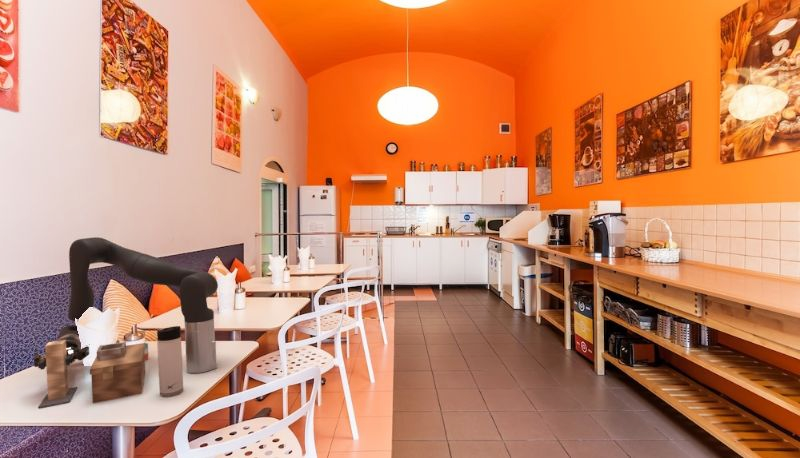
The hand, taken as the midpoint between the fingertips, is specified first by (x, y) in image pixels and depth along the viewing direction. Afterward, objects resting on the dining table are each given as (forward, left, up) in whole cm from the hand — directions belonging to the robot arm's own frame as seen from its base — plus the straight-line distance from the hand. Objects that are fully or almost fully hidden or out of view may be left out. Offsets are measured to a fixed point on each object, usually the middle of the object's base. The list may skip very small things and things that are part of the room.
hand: (54, 363), depth 121 cm
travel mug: (-30, +11, -11) cm, 34 cm away
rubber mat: (0, -3, -11) cm, 11 cm away
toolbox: (-16, -3, -11) cm, 19 cm away
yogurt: (-18, -23, -11) cm, 31 cm away
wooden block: (0, -3, -10) cm, 11 cm away
